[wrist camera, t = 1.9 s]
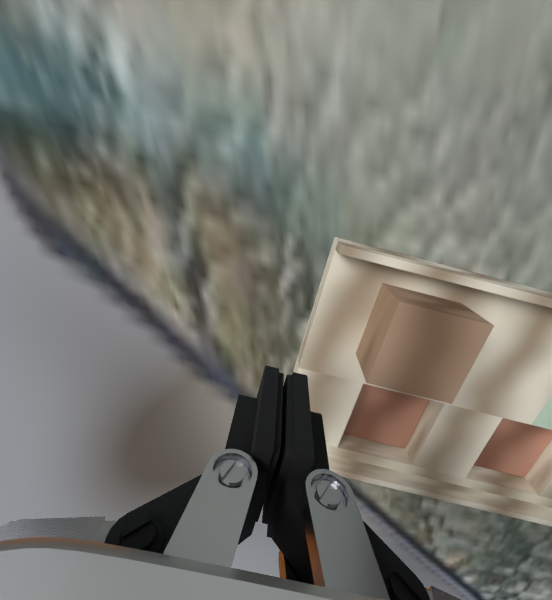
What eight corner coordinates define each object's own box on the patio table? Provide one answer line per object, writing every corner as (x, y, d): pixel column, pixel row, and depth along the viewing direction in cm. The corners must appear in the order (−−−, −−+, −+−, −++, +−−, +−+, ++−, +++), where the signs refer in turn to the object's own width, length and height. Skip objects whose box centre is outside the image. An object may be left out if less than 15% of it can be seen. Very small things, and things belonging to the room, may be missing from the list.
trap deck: (705, 331, 24) (769, 354, 21) (568, 500, 31) (600, 538, 27) (334, 236, 24) (341, 244, 20) (275, 430, 30) (272, 460, 27)
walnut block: (461, 303, 23) (494, 325, 19) (428, 371, 25) (451, 404, 21) (382, 282, 22) (399, 301, 19) (355, 353, 25) (366, 382, 21)
